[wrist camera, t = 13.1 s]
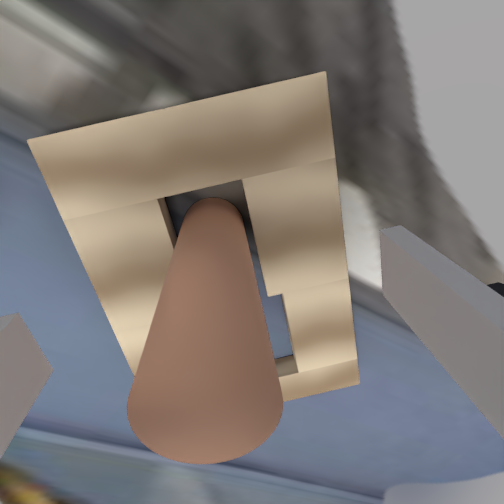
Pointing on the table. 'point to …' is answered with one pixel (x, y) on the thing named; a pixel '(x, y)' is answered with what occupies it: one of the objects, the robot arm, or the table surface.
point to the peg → (207, 348)
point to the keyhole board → (205, 175)
